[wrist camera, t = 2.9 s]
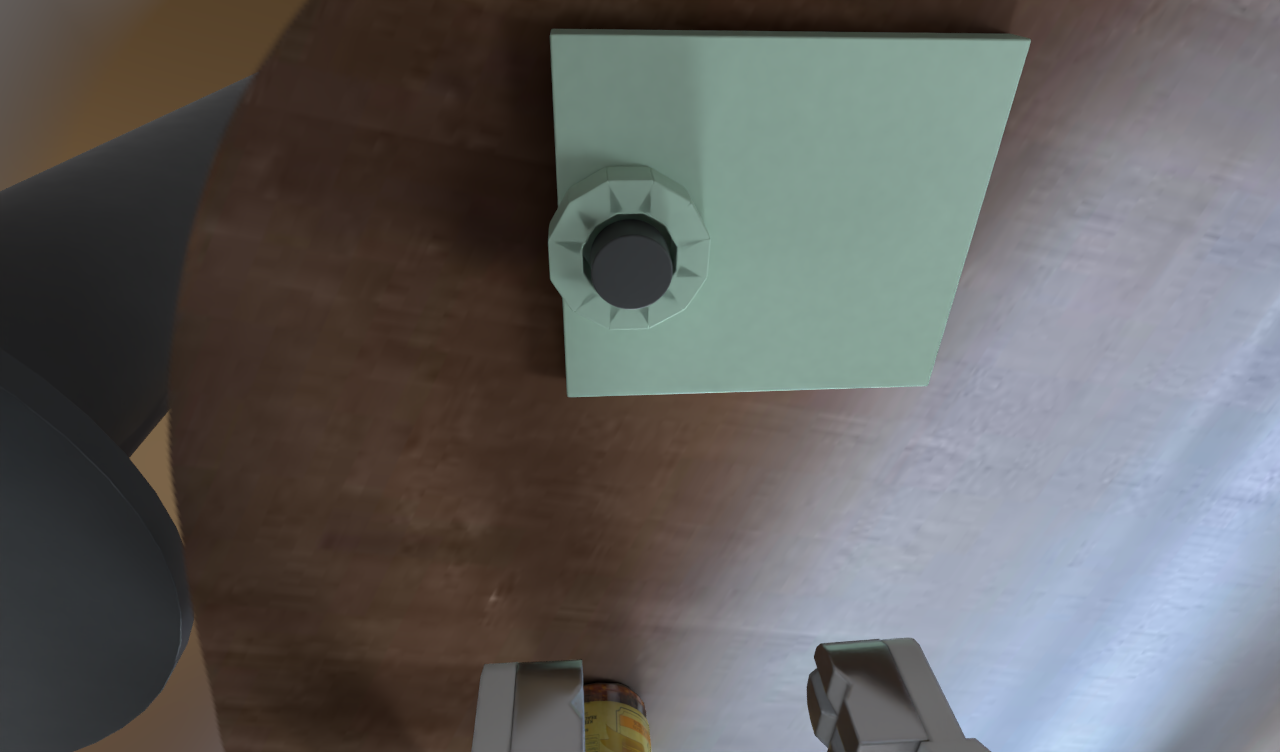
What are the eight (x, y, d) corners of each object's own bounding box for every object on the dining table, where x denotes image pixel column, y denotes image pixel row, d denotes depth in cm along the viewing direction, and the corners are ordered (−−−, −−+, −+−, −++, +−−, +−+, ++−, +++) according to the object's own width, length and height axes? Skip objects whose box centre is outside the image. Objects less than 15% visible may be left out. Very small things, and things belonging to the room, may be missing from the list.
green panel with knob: (559, 380, 30) (558, 420, 28) (540, 28, 23) (536, 41, 20) (915, 369, 32) (944, 407, 29) (1010, 33, 24) (1061, 45, 22)
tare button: (590, 291, 25) (591, 311, 24) (589, 218, 24) (590, 235, 22) (666, 290, 26) (671, 309, 24) (669, 217, 24) (675, 234, 23)
